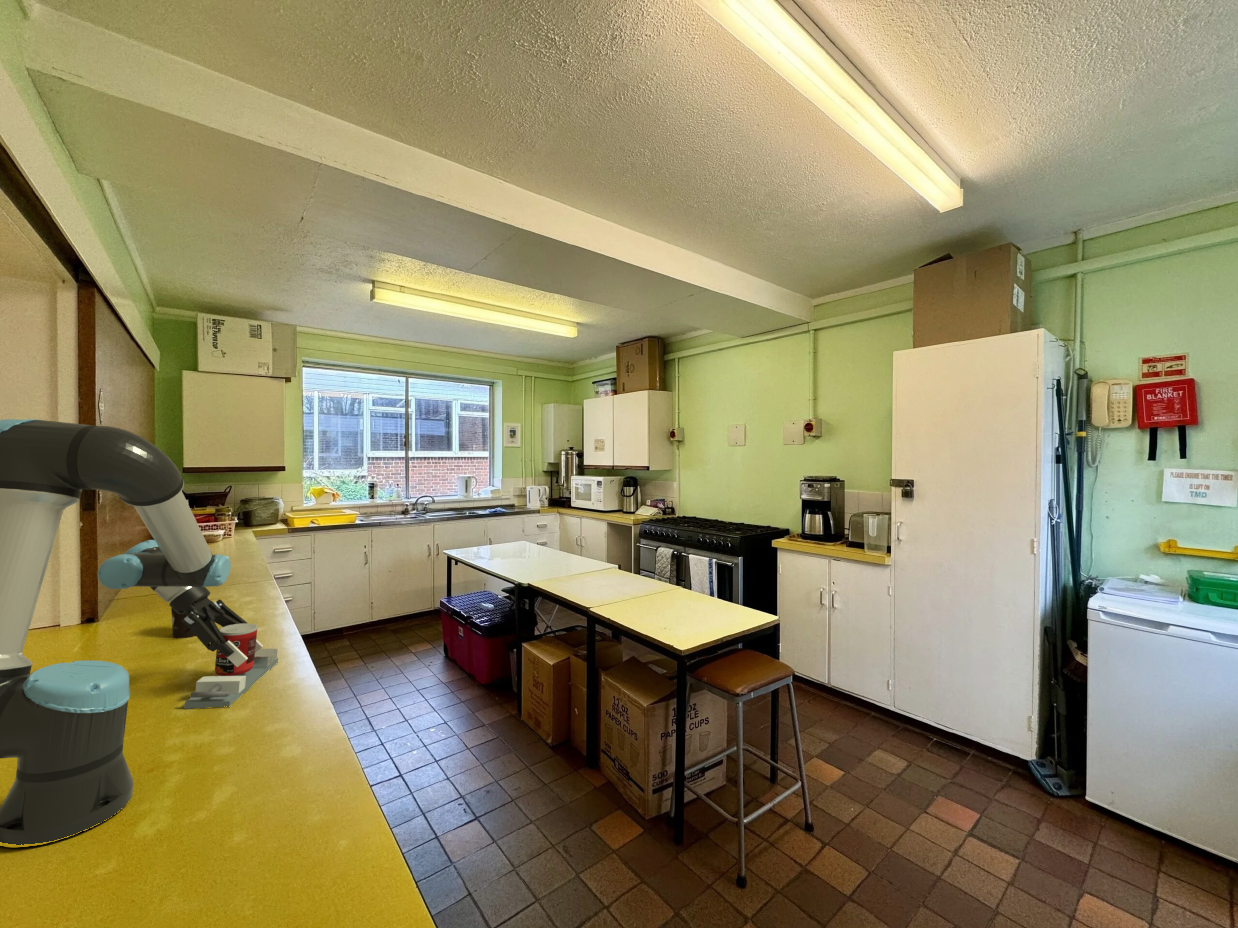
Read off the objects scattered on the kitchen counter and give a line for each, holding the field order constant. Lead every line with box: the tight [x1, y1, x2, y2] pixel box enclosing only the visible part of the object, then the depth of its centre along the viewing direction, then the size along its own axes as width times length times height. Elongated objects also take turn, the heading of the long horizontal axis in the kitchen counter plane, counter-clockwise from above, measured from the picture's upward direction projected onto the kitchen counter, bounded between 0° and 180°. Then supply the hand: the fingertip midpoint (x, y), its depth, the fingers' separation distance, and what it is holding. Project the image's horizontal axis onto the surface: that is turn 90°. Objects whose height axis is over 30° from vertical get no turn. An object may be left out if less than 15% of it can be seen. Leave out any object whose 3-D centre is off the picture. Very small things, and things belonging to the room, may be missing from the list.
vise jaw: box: [252, 648, 278, 668], centre depth 135 cm, size 6×9×3 cm, turn 104°
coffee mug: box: [170, 607, 197, 639], centre depth 153 cm, size 12×9×10 cm
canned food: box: [214, 622, 258, 676], centre depth 127 cm, size 8×8×11 cm
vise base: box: [183, 657, 279, 710], centre depth 126 cm, size 26×9×4 cm, turn 14°
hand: (250, 656), depth 127 cm, fingers closed on canned food, 8 cm apart
